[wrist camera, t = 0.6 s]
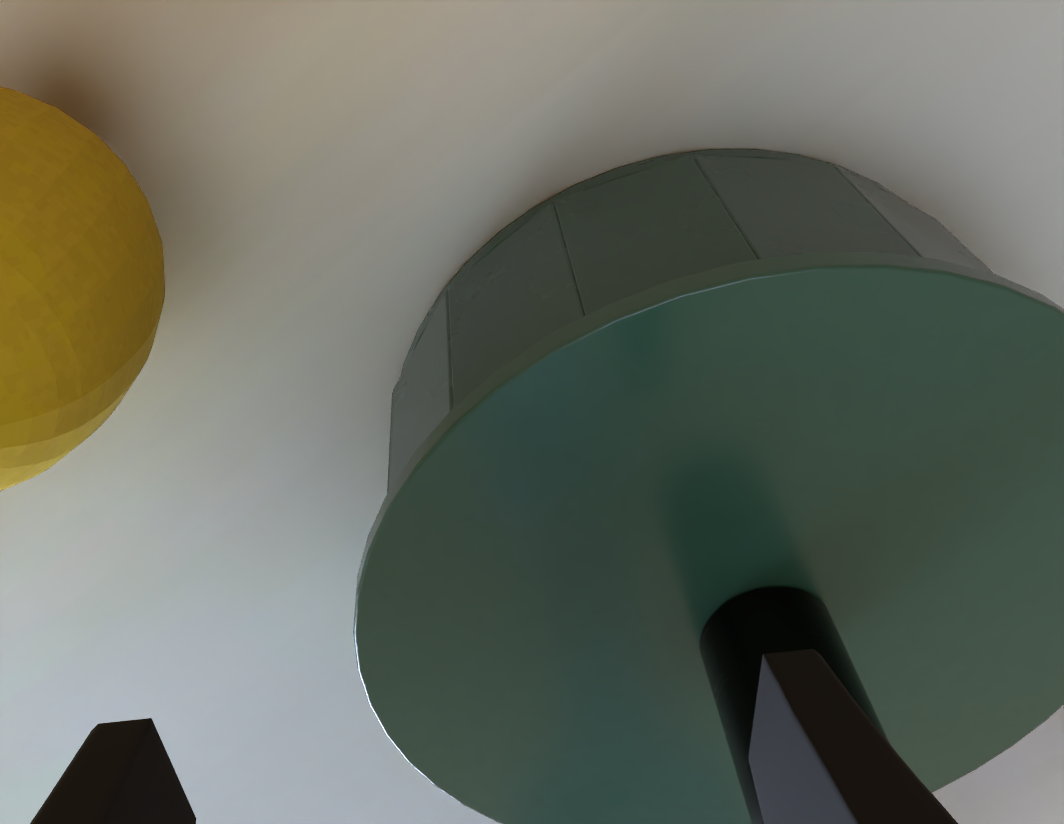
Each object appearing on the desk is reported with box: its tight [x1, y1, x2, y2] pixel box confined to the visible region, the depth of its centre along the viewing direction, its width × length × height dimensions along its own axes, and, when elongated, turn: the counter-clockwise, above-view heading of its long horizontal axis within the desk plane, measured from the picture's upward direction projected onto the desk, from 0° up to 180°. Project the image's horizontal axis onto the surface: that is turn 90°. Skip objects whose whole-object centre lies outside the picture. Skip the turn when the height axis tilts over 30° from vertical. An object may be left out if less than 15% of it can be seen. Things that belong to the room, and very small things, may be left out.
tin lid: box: [353, 252, 1064, 824], centre depth 16 cm, size 15×15×5 cm
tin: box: [387, 149, 994, 493], centre depth 20 cm, size 14×14×6 cm
